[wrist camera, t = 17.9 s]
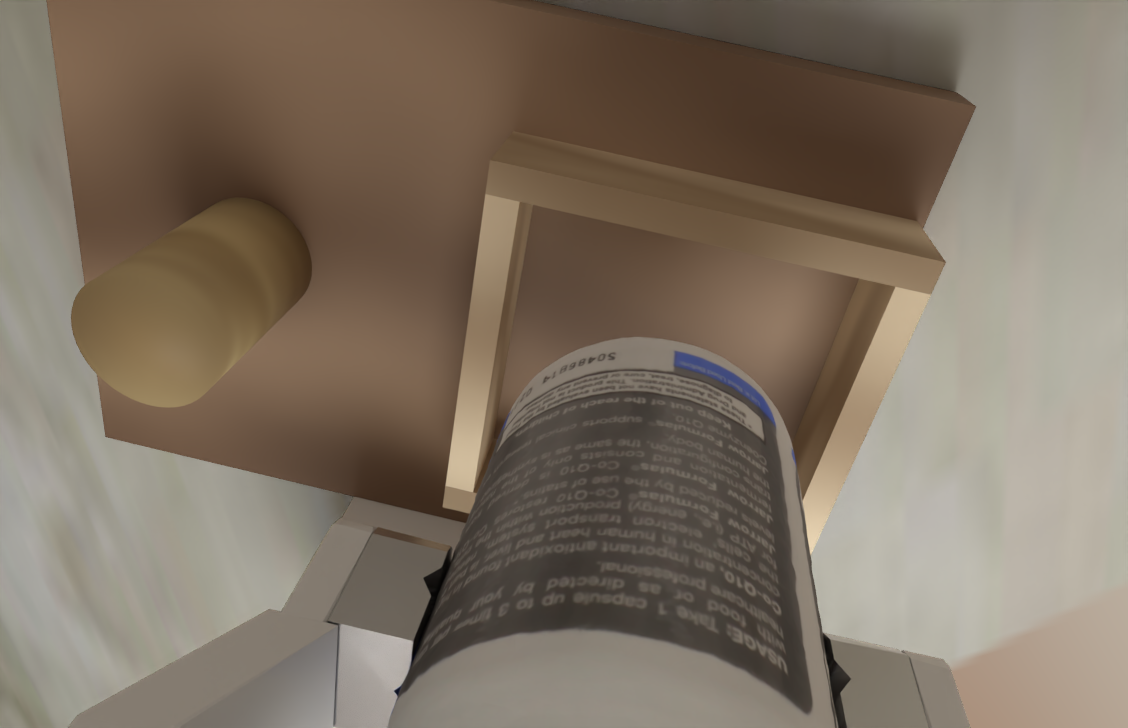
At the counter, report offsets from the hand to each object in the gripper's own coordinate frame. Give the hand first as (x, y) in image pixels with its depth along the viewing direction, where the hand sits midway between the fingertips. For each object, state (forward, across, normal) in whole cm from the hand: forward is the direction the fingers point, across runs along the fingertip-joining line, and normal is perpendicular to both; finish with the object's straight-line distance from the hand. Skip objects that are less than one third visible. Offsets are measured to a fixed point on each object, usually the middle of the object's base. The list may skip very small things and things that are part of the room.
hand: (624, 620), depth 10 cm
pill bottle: (+4, 0, 0) cm, 4 cm away
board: (+9, +4, 0) cm, 10 cm away
